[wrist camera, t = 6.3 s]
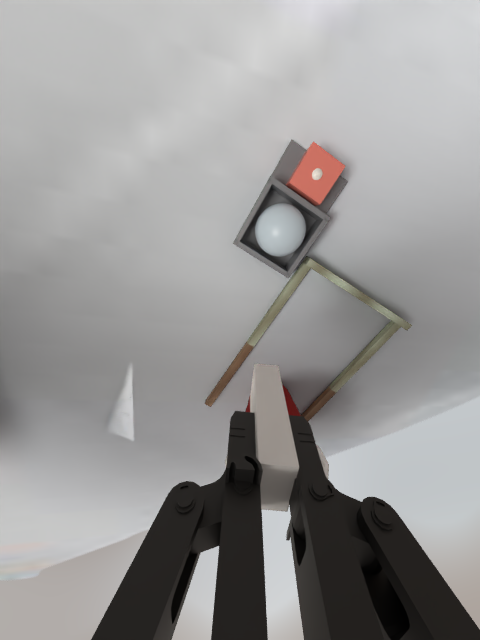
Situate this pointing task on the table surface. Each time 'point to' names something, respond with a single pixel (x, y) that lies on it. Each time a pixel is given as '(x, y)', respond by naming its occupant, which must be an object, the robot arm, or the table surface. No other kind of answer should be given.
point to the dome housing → (296, 200)
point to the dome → (280, 229)
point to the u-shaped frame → (274, 310)
